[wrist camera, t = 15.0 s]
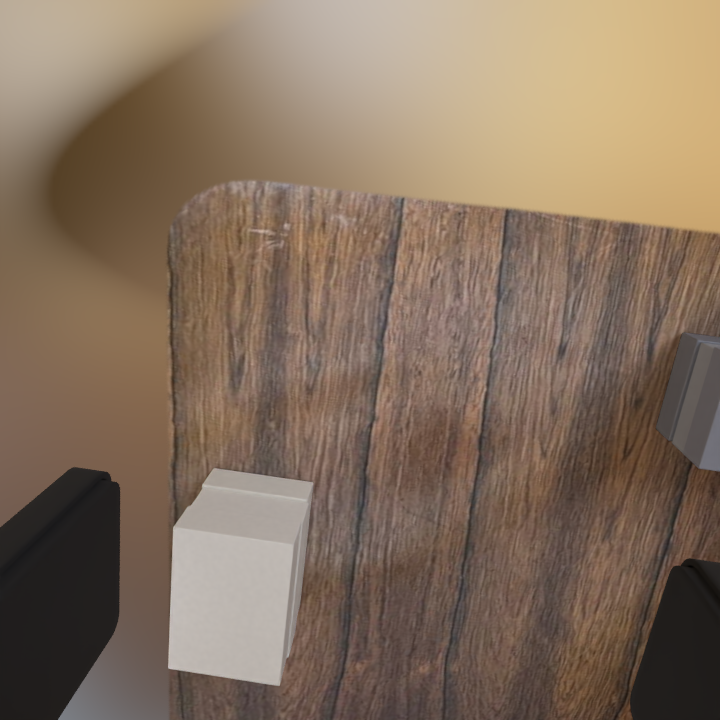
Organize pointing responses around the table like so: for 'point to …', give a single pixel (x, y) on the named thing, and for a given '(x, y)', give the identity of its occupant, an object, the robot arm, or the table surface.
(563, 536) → the table surface
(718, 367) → the grey books
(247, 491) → the white books
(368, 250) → the table surface
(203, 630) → the off-white flat block
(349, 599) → the table surface
